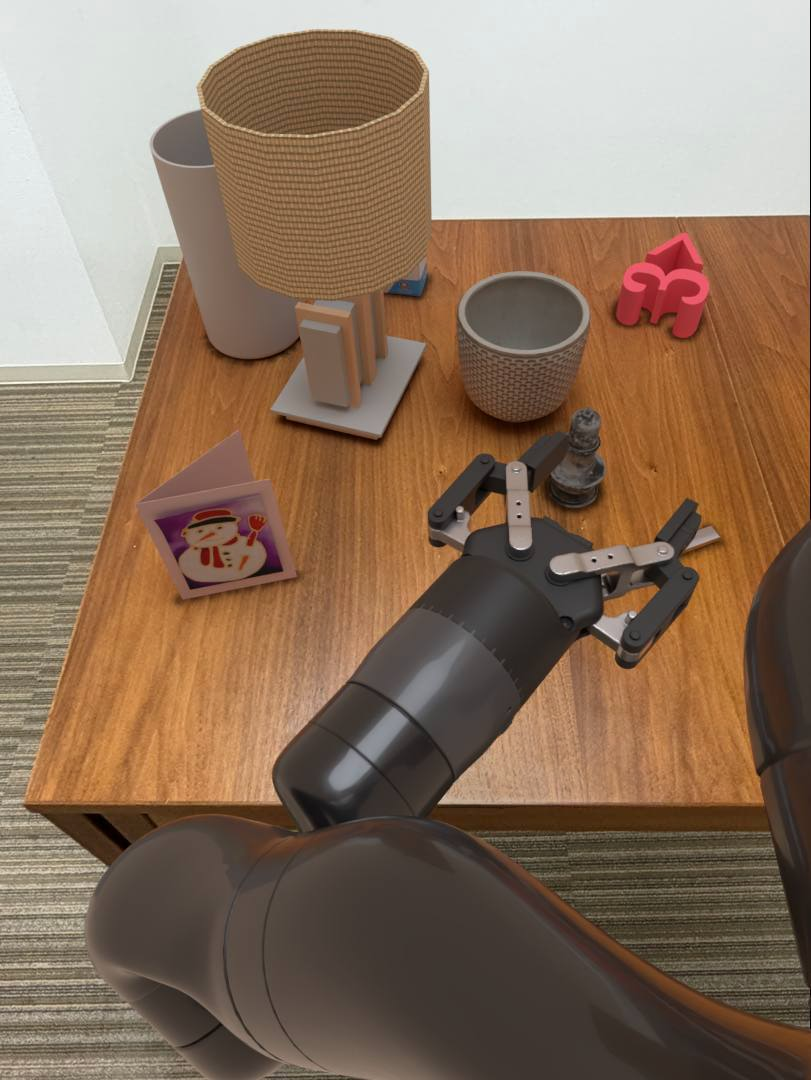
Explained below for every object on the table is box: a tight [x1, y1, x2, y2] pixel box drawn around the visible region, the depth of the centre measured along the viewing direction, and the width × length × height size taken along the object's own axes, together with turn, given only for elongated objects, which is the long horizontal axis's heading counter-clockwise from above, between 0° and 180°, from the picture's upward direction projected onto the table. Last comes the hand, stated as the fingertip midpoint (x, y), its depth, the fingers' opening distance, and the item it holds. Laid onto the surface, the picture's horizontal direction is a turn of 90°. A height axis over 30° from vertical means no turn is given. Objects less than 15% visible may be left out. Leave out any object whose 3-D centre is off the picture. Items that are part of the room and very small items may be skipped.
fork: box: [601, 525, 721, 577], centre depth 79 cm, size 19×3×1 cm, turn 111°
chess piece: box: [547, 406, 607, 509], centre depth 80 cm, size 6×6×12 cm
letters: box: [615, 232, 710, 339], centre depth 101 cm, size 14×10×5 cm
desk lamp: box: [195, 28, 433, 441], centre depth 81 cm, size 20×20×35 cm
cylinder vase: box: [149, 108, 303, 360], centre depth 93 cm, size 12×12×25 cm
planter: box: [456, 270, 592, 424], centre depth 88 cm, size 14×14×13 cm
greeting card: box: [134, 428, 298, 600], centre depth 75 cm, size 11×7×15 cm, turn 102°
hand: (624, 474), depth 47 cm, fingers open, 8 cm apart
